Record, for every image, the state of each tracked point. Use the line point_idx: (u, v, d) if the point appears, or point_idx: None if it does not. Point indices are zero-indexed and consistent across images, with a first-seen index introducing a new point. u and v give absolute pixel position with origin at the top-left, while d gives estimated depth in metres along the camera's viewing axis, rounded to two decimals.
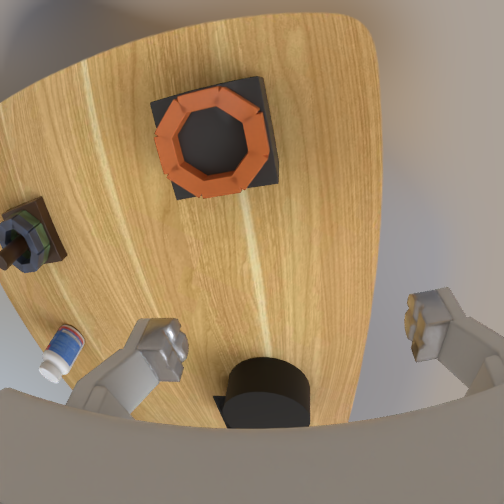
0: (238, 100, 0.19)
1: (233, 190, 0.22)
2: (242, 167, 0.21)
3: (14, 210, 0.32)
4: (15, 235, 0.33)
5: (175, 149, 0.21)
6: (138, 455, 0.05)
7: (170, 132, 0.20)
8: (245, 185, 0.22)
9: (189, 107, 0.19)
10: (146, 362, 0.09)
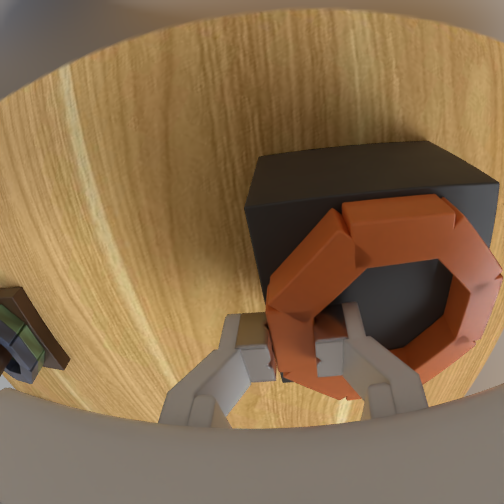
0: (482, 250, 0.07)
1: None
2: (435, 360, 0.09)
3: None
4: None
5: None
6: (138, 455, 0.05)
7: (313, 307, 0.08)
8: (425, 381, 0.10)
9: (378, 256, 0.07)
10: (243, 362, 0.09)
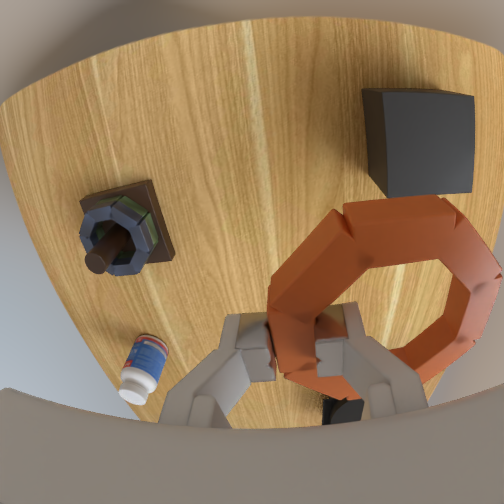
0: (482, 250, 0.07)
1: None
2: (435, 359, 0.10)
3: (104, 195, 0.29)
4: (100, 228, 0.31)
5: None
6: (138, 455, 0.05)
7: (315, 307, 0.08)
8: (425, 380, 0.10)
9: (379, 256, 0.07)
10: (243, 362, 0.09)
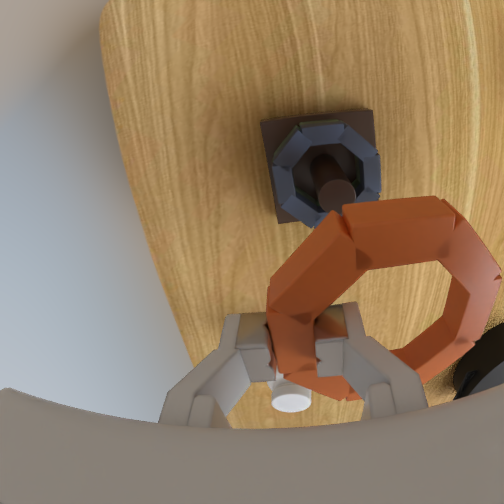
0: (481, 251, 0.07)
1: None
2: (434, 360, 0.10)
3: (308, 117, 0.22)
4: None
5: None
6: (138, 455, 0.05)
7: (314, 308, 0.08)
8: (425, 381, 0.10)
9: (378, 257, 0.07)
10: (243, 362, 0.09)
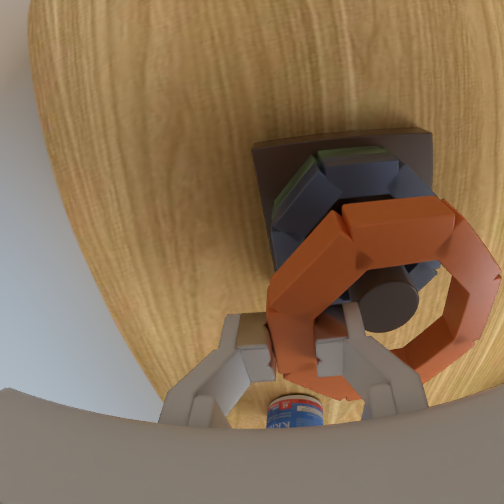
0: (481, 251, 0.07)
1: None
2: (434, 360, 0.10)
3: (332, 142, 0.13)
4: None
5: None
6: (138, 455, 0.05)
7: (314, 308, 0.08)
8: (424, 381, 0.10)
9: (378, 257, 0.07)
10: (243, 362, 0.09)
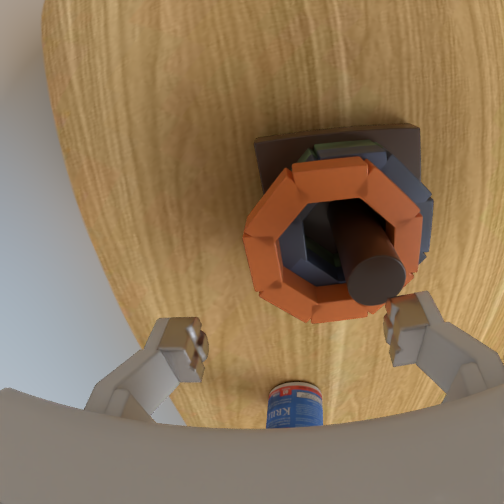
0: (396, 192, 0.11)
1: (358, 314, 0.15)
2: None
3: (327, 136, 0.14)
4: None
5: (279, 257, 0.14)
6: (138, 455, 0.05)
7: (274, 232, 0.13)
8: (375, 309, 0.15)
9: (314, 194, 0.12)
10: (167, 362, 0.09)
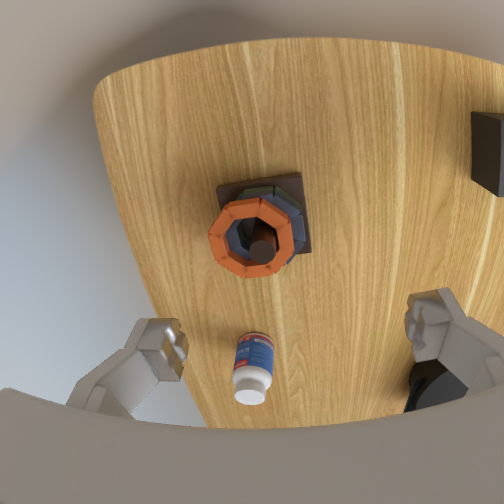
0: (273, 213, 0.28)
1: (267, 273, 0.31)
2: (275, 258, 0.30)
3: (251, 185, 0.31)
4: None
5: (225, 244, 0.30)
6: (138, 455, 0.05)
7: (221, 232, 0.29)
8: (276, 270, 0.31)
9: (236, 216, 0.28)
10: (146, 362, 0.09)
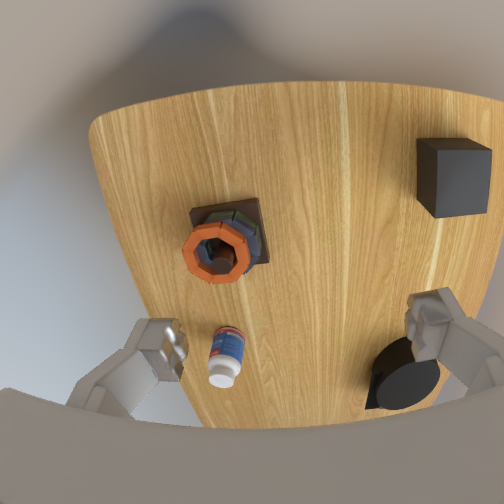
0: (231, 235, 0.36)
1: (229, 281, 0.39)
2: (234, 269, 0.38)
3: (216, 209, 0.39)
4: None
5: (195, 257, 0.38)
6: (138, 455, 0.05)
7: (191, 249, 0.37)
8: (236, 278, 0.39)
9: (202, 236, 0.36)
10: (145, 362, 0.09)
